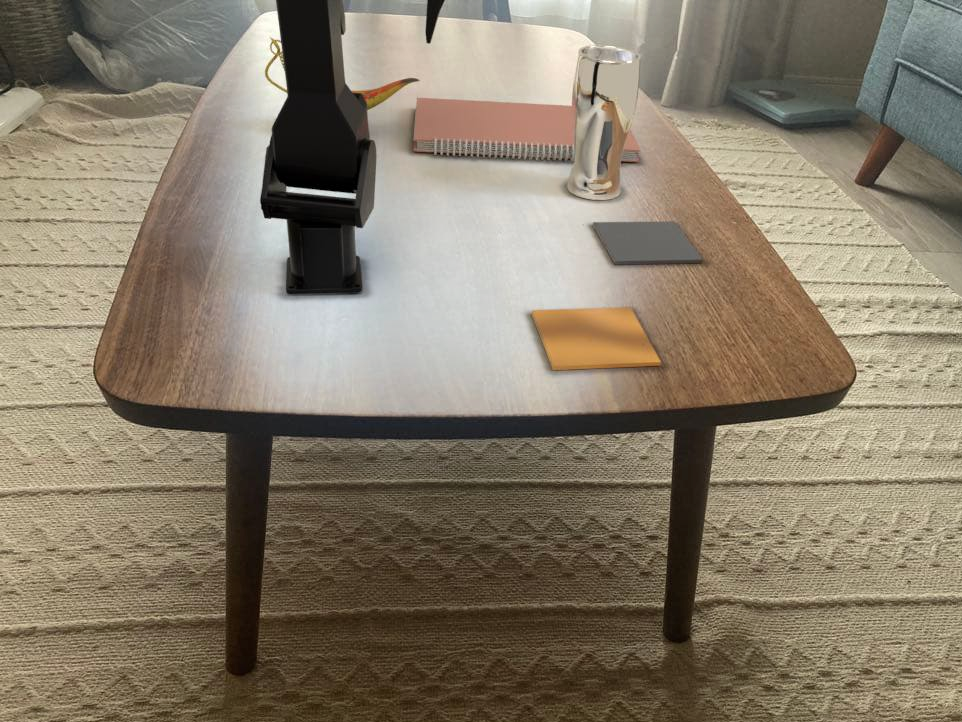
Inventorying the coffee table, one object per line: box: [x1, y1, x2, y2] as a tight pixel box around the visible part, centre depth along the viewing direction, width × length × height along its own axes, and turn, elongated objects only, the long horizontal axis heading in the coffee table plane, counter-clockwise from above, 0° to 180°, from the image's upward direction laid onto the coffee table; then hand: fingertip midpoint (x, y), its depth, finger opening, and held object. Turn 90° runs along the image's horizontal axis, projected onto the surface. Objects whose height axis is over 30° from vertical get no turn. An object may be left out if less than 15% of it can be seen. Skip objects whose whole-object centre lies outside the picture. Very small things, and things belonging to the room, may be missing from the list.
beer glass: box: [566, 44, 642, 201], centre depth 101 cm, size 7×7×15 cm
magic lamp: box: [264, 36, 421, 111], centre depth 111 cm, size 7×18×11 cm, turn 100°
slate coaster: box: [592, 221, 703, 266], centre depth 95 cm, size 9×9×1 cm
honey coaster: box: [531, 306, 662, 371], centre depth 78 cm, size 9×9×1 cm
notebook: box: [412, 97, 641, 163], centre depth 117 cm, size 27×17×2 cm, turn 95°
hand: (386, 37), depth 99 cm, fingers open, 9 cm apart
